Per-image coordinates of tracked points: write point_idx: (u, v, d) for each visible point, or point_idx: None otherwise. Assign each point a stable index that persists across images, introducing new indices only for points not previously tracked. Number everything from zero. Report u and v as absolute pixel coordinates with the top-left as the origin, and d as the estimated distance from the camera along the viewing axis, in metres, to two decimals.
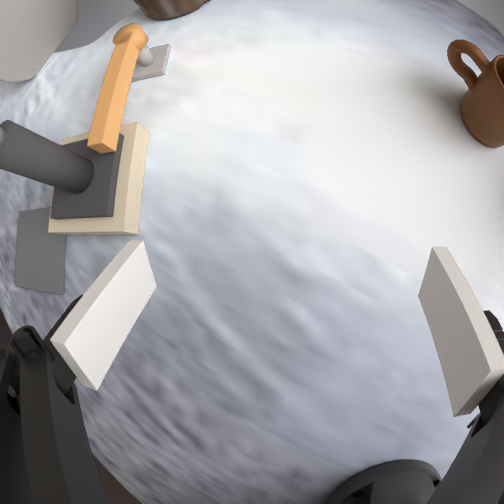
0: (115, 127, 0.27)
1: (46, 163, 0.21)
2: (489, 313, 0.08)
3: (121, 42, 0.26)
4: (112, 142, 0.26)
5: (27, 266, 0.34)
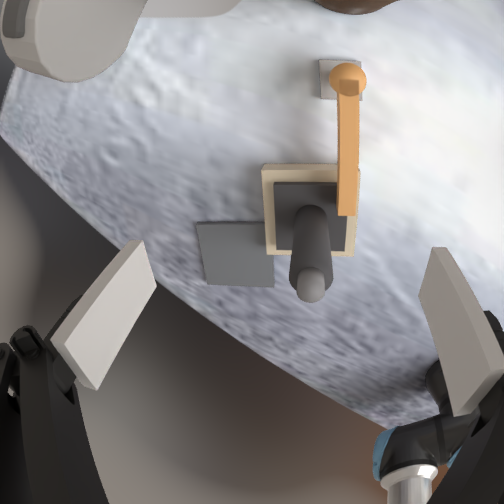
0: None
1: None
2: (489, 313, 0.08)
3: (347, 93, 0.26)
4: None
5: (224, 269, 0.48)
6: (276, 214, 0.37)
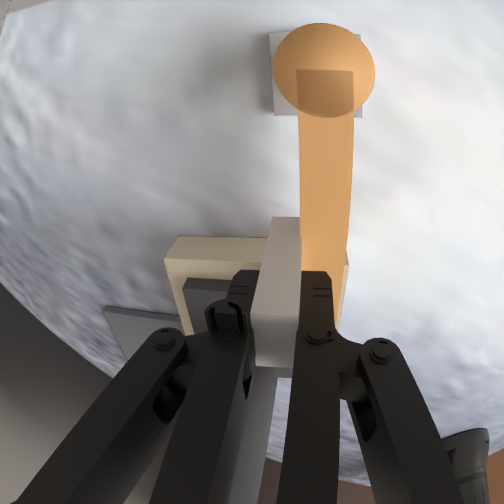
0: None
1: None
2: (324, 273, 0.11)
3: (321, 110, 0.10)
4: None
5: None
6: (195, 329, 0.21)
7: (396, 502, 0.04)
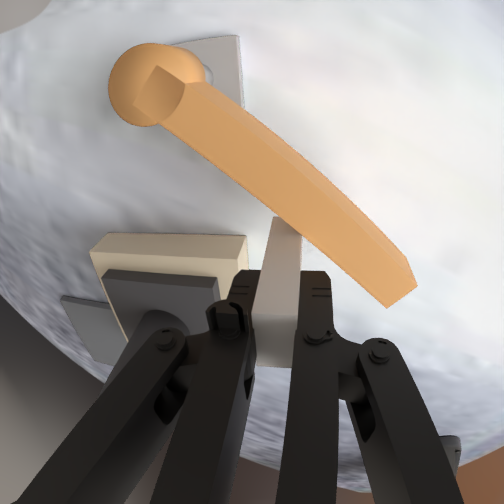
0: (383, 238, 0.14)
1: None
2: (323, 273, 0.11)
3: (169, 107, 0.11)
4: (403, 259, 0.14)
5: (104, 351, 0.33)
6: (118, 315, 0.23)
7: (395, 502, 0.04)
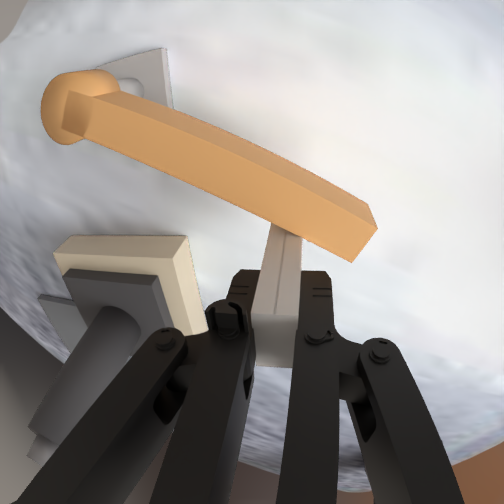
0: (327, 186, 0.13)
1: None
2: (323, 273, 0.11)
3: (86, 120, 0.11)
4: (359, 204, 0.13)
5: None
6: (80, 311, 0.24)
7: (395, 502, 0.04)
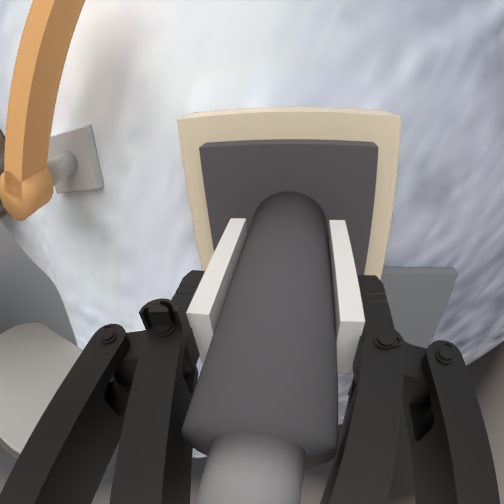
0: None
1: (304, 280, 0.09)
2: (374, 277, 0.11)
3: (14, 176, 0.14)
4: None
5: None
6: None
7: (440, 500, 0.04)
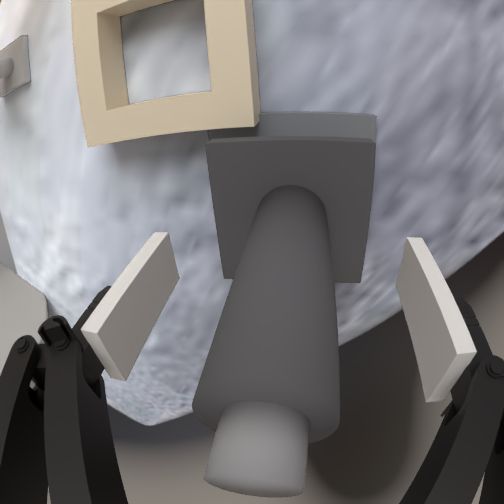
0: None
1: (306, 263, 0.10)
2: (462, 301, 0.09)
3: None
4: None
5: None
6: None
7: None
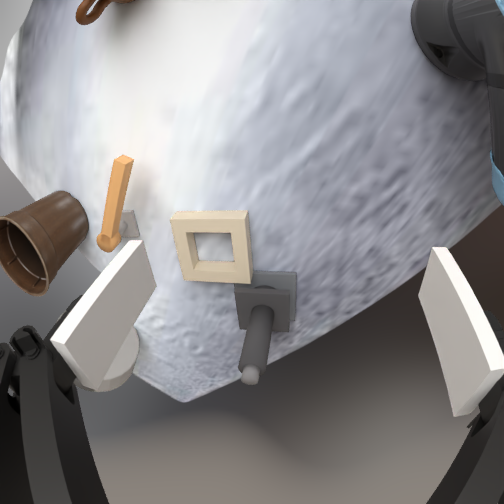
0: None
1: (261, 337, 0.45)
2: (489, 313, 0.08)
3: (106, 236, 0.45)
4: None
5: None
6: None
7: None
